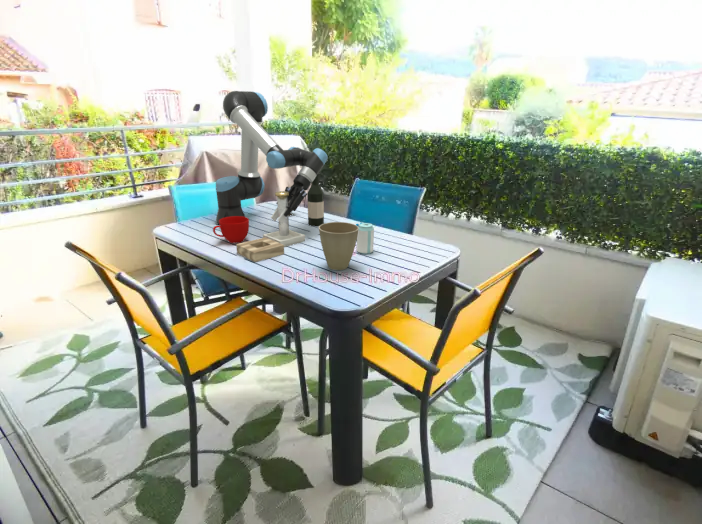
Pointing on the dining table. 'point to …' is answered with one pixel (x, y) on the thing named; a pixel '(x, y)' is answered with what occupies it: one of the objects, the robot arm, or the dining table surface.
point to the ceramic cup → (233, 228)
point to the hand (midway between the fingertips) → (276, 220)
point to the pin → (282, 204)
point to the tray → (286, 238)
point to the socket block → (260, 249)
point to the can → (365, 238)
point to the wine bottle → (315, 204)
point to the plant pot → (338, 243)
